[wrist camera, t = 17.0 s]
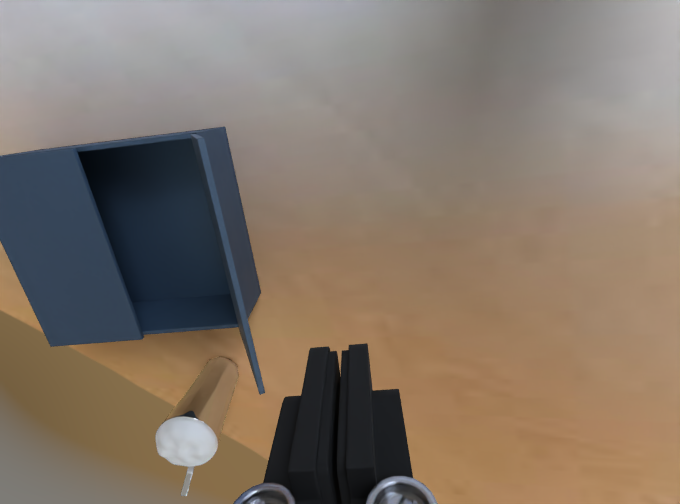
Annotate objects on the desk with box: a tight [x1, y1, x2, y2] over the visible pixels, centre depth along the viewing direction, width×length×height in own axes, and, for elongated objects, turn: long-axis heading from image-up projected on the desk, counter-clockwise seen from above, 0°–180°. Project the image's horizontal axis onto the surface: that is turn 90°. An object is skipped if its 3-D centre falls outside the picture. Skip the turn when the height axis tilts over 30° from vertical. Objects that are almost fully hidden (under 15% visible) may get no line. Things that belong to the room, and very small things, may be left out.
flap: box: [191, 134, 265, 395], centre depth 21 cm, size 14×7×1 cm
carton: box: [0, 127, 261, 347], centre depth 28 cm, size 14×15×6 cm
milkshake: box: [156, 357, 239, 496], centre depth 31 cm, size 4×5×10 cm
